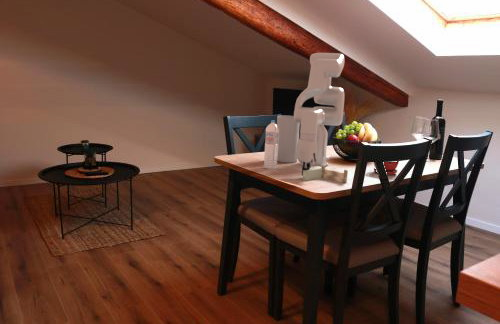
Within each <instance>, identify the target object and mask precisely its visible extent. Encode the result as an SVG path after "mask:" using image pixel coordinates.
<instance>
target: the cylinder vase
mask: <svg viewBox="0 0 500 324" xmlns="http://www.w3.org/2000/svg"><path fill="white" fill-rule="evenodd" d="M276 118H277V119H276V125H277V126H278V127H279V141H278V161H277V163H278V162H279V163H284V164H293V163H297V161H298V159H297V158H296V151H297V145H298V141H299V139H300V127H301V123H297V122H296V121H295V120H294V115H277V117H276Z"/></svg>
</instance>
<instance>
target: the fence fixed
mask: <svg viewBox="0 0 500 324" xmlns="http://www.w3.org/2000/svg"><path fill="white" fill-rule="evenodd" d="M320 168H321V169H322V177H321V178H320V179H324V180H325V179H326V180H331V181H333V182H338V183H343V184H347V181H348V174H349V173H348V169H344V171H343V172H342V171H337V170H333V169H328V168H326V166H325V165H322V166H320Z"/></svg>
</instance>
